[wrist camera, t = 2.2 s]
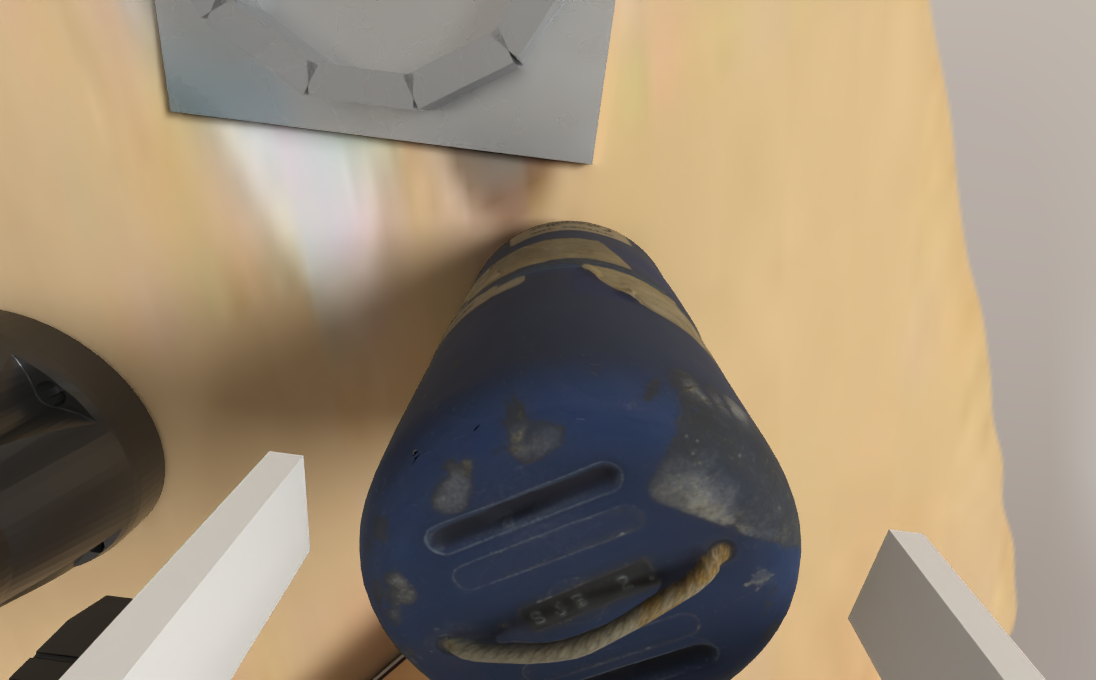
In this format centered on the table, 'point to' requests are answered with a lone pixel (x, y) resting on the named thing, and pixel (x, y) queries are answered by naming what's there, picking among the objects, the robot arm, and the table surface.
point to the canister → (577, 484)
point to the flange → (397, 68)
